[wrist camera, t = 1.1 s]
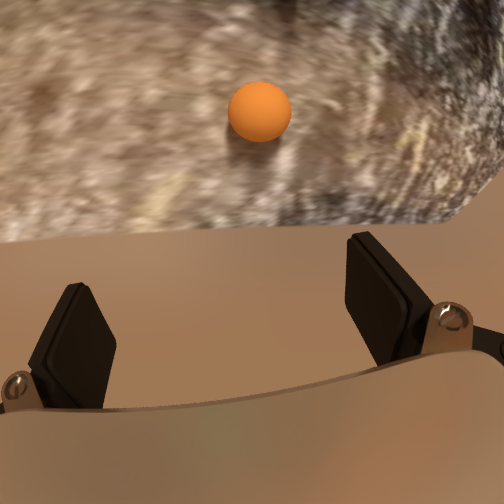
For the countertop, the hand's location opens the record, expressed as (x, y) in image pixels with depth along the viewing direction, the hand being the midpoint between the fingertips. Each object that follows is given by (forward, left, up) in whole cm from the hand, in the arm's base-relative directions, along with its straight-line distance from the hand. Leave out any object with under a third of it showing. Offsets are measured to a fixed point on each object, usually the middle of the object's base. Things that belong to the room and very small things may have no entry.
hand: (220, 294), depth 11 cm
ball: (+4, +5, -22) cm, 23 cm away
